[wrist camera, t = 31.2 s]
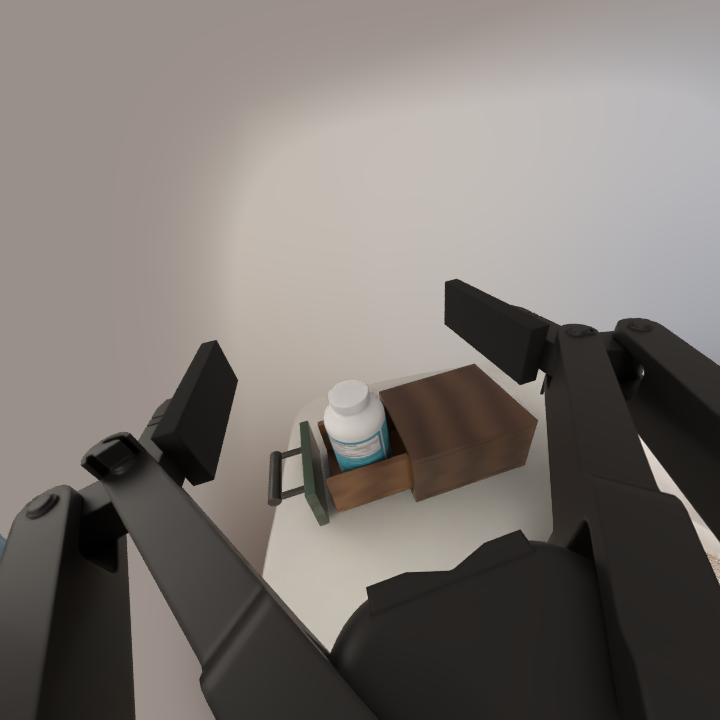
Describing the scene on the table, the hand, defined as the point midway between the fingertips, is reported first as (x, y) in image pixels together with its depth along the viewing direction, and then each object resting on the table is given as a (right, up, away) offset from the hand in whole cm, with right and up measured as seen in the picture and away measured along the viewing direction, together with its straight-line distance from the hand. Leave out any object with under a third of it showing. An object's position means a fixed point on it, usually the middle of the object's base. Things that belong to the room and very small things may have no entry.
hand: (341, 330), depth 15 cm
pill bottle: (+2, -16, +22) cm, 28 cm away
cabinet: (+14, -15, +25) cm, 32 cm away
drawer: (-1, -18, +23) cm, 29 cm away
